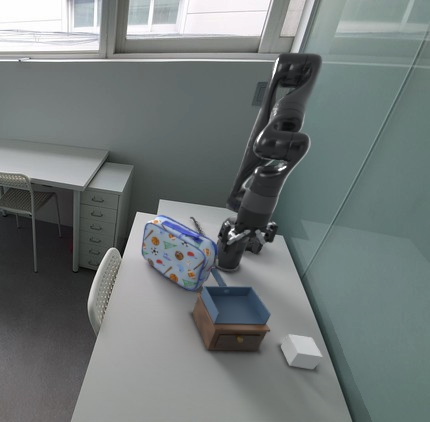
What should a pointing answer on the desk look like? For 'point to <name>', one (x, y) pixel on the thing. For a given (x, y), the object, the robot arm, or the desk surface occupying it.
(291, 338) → the white cube
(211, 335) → the storage box
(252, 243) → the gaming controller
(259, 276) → the desk surface
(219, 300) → the dustpan
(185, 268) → the lunch box
